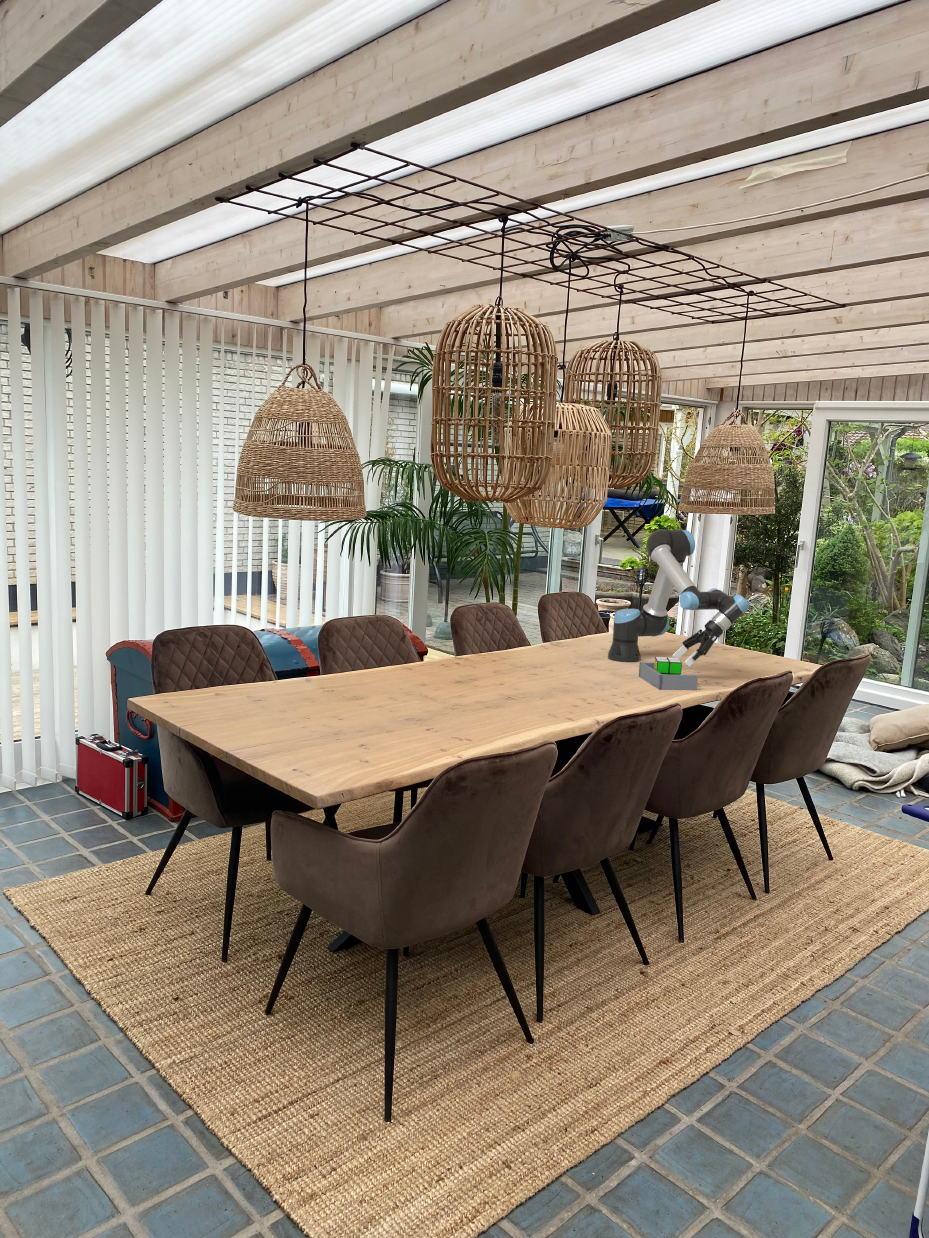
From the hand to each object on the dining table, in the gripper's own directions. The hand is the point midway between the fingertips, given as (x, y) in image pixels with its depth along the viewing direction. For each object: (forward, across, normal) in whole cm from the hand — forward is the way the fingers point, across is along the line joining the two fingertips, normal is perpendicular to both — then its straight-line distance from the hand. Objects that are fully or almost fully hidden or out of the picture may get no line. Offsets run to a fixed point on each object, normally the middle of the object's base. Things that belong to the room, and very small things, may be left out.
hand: (680, 661), depth 368 cm
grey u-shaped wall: (+10, +1, -3) cm, 11 cm away
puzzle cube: (+10, +1, -3) cm, 11 cm away
